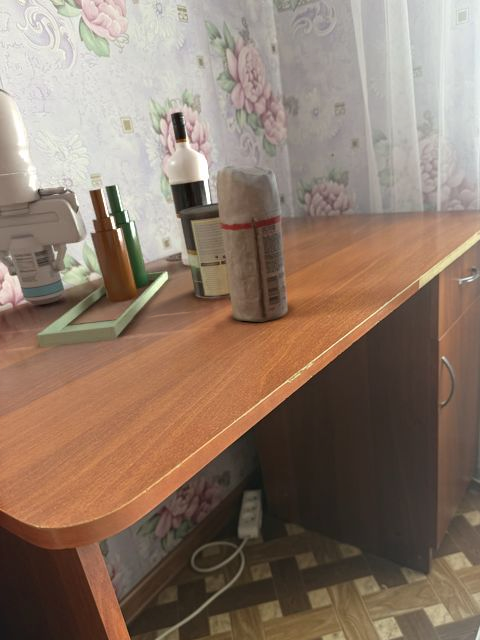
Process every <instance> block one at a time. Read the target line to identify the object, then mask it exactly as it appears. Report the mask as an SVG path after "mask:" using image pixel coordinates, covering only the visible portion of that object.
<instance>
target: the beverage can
mask: <svg viewBox="0 0 480 640" xmlns="http://www.w3.org/2000/svg"><path fill="white" fill-rule="evenodd" d="M9 251H10V254H11V255H10V258H11V259H12V260H13V264H14V267H15V270H16V273H17V275H16V277H17V281H18V283H19V287H20V290H21V293H22V296H23V299H24V301H26V302H28V303H31V304H33V305H36V306H37V305H45V304H51V303H53V302H56V301H58V300H60V299H61V297H62V295H64V293H65V288H64V287H65V286H64V285H63V280H62V276H61V273H60V271H54V270H53V266H52V263H51V262H53V261H55V260H56V255H55V254H56V253H55V251H54V249H53V245H52V246H42V245H41V244H40V243H39V242H38V241H37V240H36V239H35V238H34V237H33V235H30V236H24V237H14V238H12V237H11V242H10V246H9Z"/></svg>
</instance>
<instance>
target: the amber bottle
mask: <svg viewBox="0 0 480 640" xmlns="http://www.w3.org/2000/svg"><path fill="white" fill-rule="evenodd" d="M88 193H89V196H90V200H91V204H92V208H93V212H94V216H95V218H92V219H91V222H92V226H93V230H92V231H90V232H89V234H90V237H91V241H92V245H93V249H94V253H95V257H96V260H97V264H98V268H99V272H100V277H101V280H102V282H103V284H104V287H105V291H106V293H105V295H106V299H107V301H108V303H122V302H126V301H127V302H128V301H130V300H134V299H135V298H138V297H139V293H138V289H136V285H135V281H134V276H133V272H132V268H131V264H130V260H129V256H128V251H127V247H126V243H125V239H124V235H123V231H122V227H117V226H116V222H115V218H114V216H109V213H110V212H109V208H108V205H107V200H106V196H105V192H104V189H103V187H102V188H101V187H100V188H94V189H89V190H88ZM103 284H102V285H103Z"/></svg>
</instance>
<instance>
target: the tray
mask: <svg viewBox="0 0 480 640" xmlns="http://www.w3.org/2000/svg"><path fill="white" fill-rule="evenodd" d="M147 276H148V280H149V282H152V281H153V282H152V283H151V284H149V285H148V286H149V287H147V288H146V289H145V290H144V291H143V292H142V293H141V294H140V295H139V296H138V297H137V299H136V300H135V301H134V302H133V303H132V304H130V306H128V308H127V309H126V310H125V311H124V312H123V313H122V314H120V316H119V317H118V318H117V319H107V320H99V321H90V322H82V323H81V322H80V323H72V324H70V323H71V322H73V321H74V320H75V319H76V318H77V317H79V315H81V314H82V313H83V312H85V311H86V310H87V309H88V308H89V307H91V306H92V305H93V304H94V303H96V302H97V301H98V300H99V299H100V298H102V297H103V296H104V295H106V291H105V287H104V284H102V285H101V286H99V287H98V288H96V289H95V290H94V291H93V292H91V293H90V294H89V295H87V296H86V297H85V298H84V299H82V300H81V301H79V302H78V303H77V304H76V305H74V306H73V307H72V308H70V309H69V310H67V311H66V312H65V313H63V314H62V315H61V316H60V317H59V318H57V319H56V320H55V321H54V322H52V323H51V324H49V325H48V326H47V327H46V328H44V329H43V330H42V331H39V332H38V334H36V337H37V340H38V343H39V345H40V347H41V348H44V347H51V346H52V347H53V346H61V345H69V344H71V345H72V344H79V343H88V342H89V343H90V342H96V341H97V342H98V341H106V340H117V339H118V338H119V335H120V334H121V333H122V332H123V331H124V329H126V327H127V326H128V325H129V324H130V323H131V321H133V319H134V318H135V316H136V315H137V314H138V313H139V311H140V310H141V309H142V308H143V307H144V306H145V305H146V304H147V302H148V301H149V300H150V299H151V298H152V297H153V296H154V295H155V293H156V292H157V291H158V290H159V289H160V288H161V287H162V286H163V285H164V283H165V282H167V280H168V279H169V274H168V271H167V270H165V271H156V272H147Z"/></svg>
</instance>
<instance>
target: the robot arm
mask: <svg viewBox="0 0 480 640" xmlns="http://www.w3.org/2000/svg"><path fill="white" fill-rule="evenodd" d="M24 122H25V121H24V120H23V117H22V114H21V111H20V109H19V107H18V104H17V102H16V100H15V99H14V97H13V96H12V95H11V94H9V93H8V92H7V91H6V90H4V89H1V88H0V262H1V263H2V264H3V265H4V266H5V268H7V271H8V275H9V276H10V277H15V276H16V277H17V273H16V270H15V267H14V264H13V260H12V257H11V254H10V251H9V246H10V242H11V237H12V238H14V237H24V236H30V235H33V237H34V238H35V239H36V240H37V241H38V242H39V243H40V244H41V245H42V246H52V247H53V251H54V253H56V252H57V253H56V256H55V258H56V260H55V261H53V262H51V263H52V266H53V270H54V271H59V272H62V271H65V270H66V263H65V260H64V259H65V257H66V254H67V251H68V247H67V245H71V244H78V243H80V242H83V241H84V240H85V239H86V237H87V235H88V234H87V233H88V231H87V228H86V224H85V223H84V220H83V216H82V214H81V212H80V203H79V200H78V197H77V194H76V193H75V192H74V191H73V190H71V189H69V188H67V187H66V186H58V187H53V188H52V187H51V188H50V187H48V188H47V187H46V188H42V182H41V180H40V176H39V172H38V169H37V167H36V165H35V163H34V162H33V159H32V156H31V151H30V147H31V146H30V140H29V136H28V133H27V129H26V126H25V123H24Z"/></svg>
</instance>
